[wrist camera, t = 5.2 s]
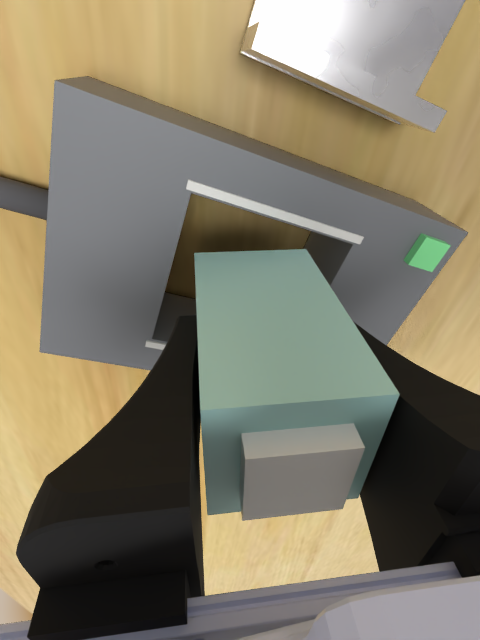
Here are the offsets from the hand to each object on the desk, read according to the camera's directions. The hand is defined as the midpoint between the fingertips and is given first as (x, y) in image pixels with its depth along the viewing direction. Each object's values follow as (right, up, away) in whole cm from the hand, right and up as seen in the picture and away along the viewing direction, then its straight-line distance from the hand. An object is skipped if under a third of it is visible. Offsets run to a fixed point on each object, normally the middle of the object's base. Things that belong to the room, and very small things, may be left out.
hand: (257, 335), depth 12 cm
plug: (0, +1, +2) cm, 2 cm away
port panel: (-1, +4, +5) cm, 7 cm away
